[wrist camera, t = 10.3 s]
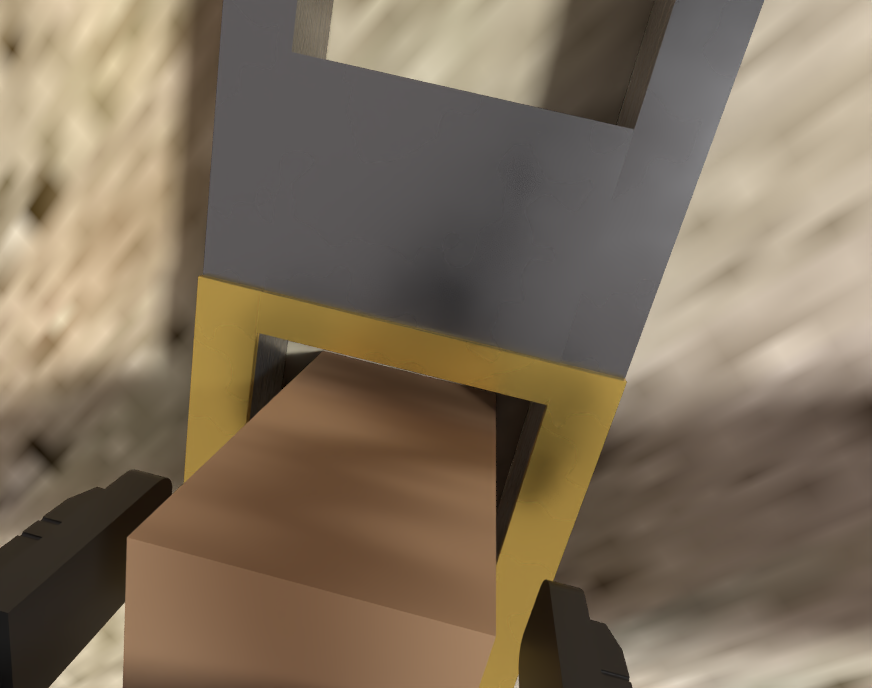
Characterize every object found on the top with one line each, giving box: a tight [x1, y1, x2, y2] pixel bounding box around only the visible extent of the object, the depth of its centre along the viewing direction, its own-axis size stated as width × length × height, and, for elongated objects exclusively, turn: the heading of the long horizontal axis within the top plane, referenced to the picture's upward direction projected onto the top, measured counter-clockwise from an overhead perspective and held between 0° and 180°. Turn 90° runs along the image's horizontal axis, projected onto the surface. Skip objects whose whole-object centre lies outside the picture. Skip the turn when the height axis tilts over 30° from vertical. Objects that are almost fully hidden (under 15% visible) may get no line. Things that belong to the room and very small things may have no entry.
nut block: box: [123, 351, 496, 688], centre depth 11 cm, size 5×5×8 cm
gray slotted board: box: [184, 0, 764, 688], centre depth 12 cm, size 10×24×2 cm, turn 167°
